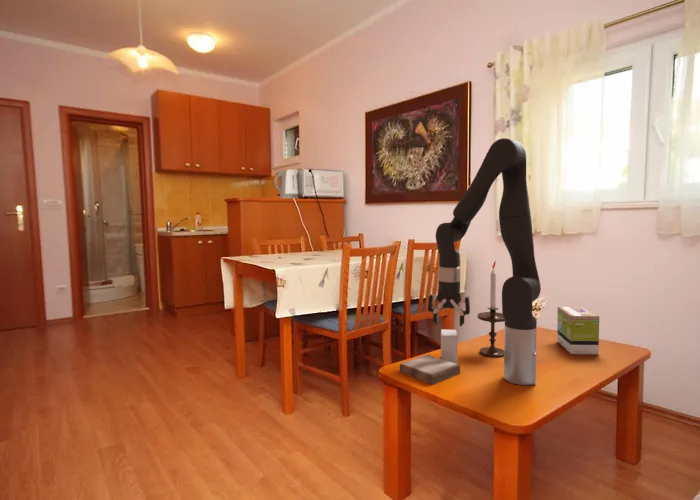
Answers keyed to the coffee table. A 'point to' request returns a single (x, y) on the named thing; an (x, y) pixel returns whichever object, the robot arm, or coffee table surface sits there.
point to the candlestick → (492, 320)
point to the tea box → (578, 330)
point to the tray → (430, 369)
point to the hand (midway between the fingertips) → (448, 324)
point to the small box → (449, 345)
